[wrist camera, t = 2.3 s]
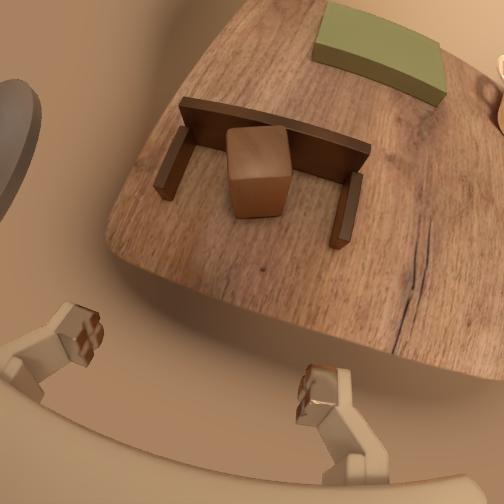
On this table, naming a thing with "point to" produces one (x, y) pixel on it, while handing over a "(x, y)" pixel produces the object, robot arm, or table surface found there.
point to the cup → (503, 110)
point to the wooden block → (258, 170)
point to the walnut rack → (300, 144)
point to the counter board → (381, 52)
